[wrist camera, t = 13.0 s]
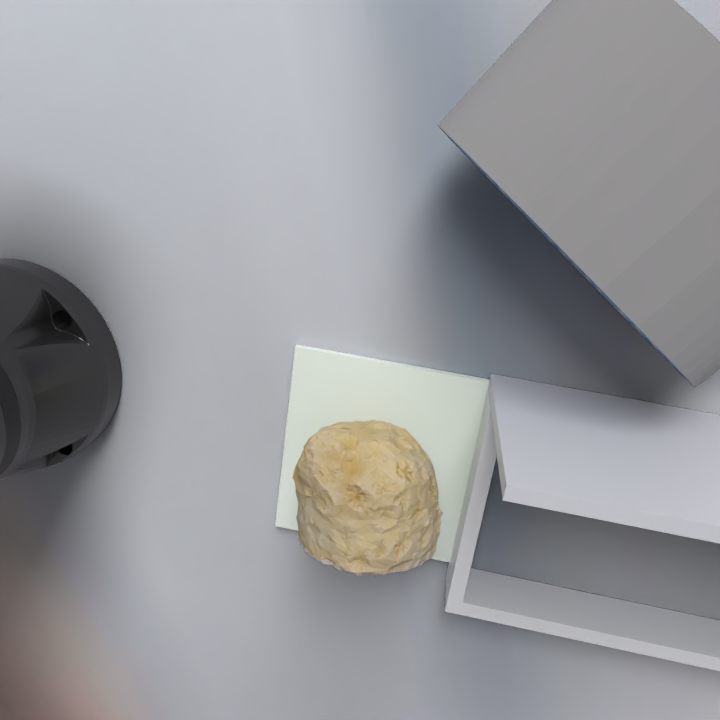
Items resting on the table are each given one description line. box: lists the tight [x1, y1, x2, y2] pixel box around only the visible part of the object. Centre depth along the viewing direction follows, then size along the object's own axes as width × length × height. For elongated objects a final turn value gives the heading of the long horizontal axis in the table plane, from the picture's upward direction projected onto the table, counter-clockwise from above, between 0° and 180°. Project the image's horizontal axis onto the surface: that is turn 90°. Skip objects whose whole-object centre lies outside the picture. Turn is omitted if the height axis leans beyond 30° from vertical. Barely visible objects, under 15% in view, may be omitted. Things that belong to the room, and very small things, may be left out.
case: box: [445, 374, 720, 671], centre depth 36 cm, size 23×16×15 cm
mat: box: [275, 345, 489, 563], centre depth 44 cm, size 14×14×1 cm
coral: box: [293, 420, 443, 577], centre depth 40 cm, size 10×10×10 cm
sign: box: [438, 0, 720, 387], centre depth 32 cm, size 20×10×10 cm, turn 47°
